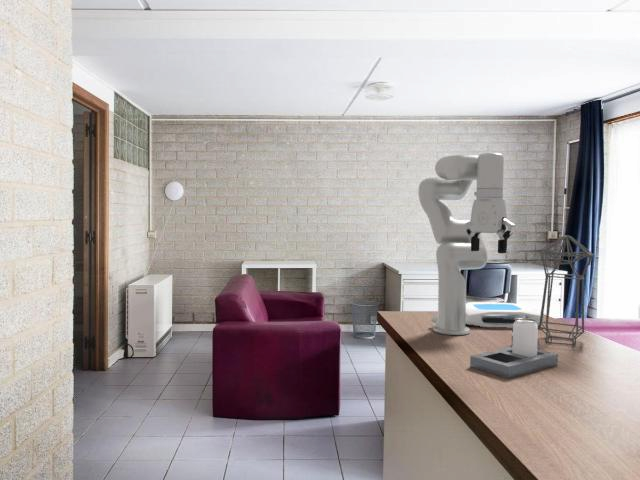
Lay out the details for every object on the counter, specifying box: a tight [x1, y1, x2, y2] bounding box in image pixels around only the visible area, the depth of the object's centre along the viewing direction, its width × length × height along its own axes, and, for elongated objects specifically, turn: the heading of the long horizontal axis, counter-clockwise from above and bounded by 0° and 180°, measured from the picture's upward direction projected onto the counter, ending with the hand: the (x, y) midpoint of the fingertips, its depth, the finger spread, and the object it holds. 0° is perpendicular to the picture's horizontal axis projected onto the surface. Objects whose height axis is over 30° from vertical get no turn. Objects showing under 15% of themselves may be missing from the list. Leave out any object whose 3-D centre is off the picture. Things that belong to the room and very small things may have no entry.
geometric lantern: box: [538, 235, 596, 346], centre depth 167 cm, size 16×16×35 cm
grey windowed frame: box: [469, 346, 559, 379], centre depth 140 cm, size 12×22×3 cm, turn 124°
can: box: [511, 318, 539, 357], centre depth 143 cm, size 6×6×12 cm
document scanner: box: [466, 301, 544, 329], centre depth 198 cm, size 21×28×6 cm
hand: (488, 252), depth 153 cm, fingers open, 9 cm apart
